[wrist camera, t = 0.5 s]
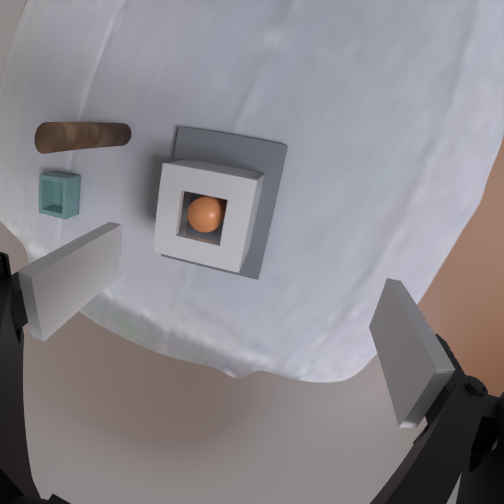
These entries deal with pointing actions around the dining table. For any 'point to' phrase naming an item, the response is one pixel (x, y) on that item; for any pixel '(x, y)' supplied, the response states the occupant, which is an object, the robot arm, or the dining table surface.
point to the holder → (59, 194)
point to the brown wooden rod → (79, 136)
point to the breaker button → (206, 213)
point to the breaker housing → (221, 186)
